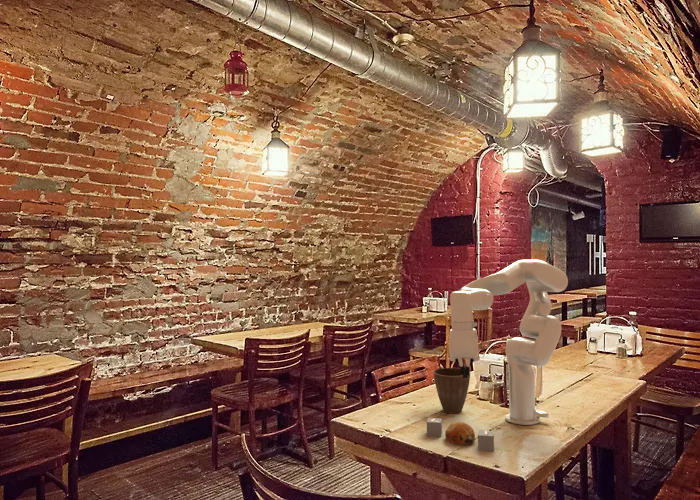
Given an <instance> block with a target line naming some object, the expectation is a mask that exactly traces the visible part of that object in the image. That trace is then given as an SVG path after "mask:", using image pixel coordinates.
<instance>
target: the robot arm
mask: <svg viewBox="0 0 700 500" xmlns="http://www.w3.org/2000/svg"><path fill="white" fill-rule="evenodd" d="M525 283H526V286H527V290H528V294H529V302H528V305H527V308H526V310H525V312H524V314H523V316H522V319H521V321H520V324H519V332H520V333H521V335H522V336H524V337H522V336H521V337H520V336H515V337H511V338H510V339H509V340H508V341H507V342H506V344H505V348H504V349H505V356H506V361H507V367H508V399H509V400H508V401H509V403H508V405H509V411H508V412H509V413H507V414H505V416H504V417H505V420H506V421H507V422H509V423H512V424H515V425H521V426H522V425H523V426H533V425H537V424H539V423H540V422H541V418H547V419H548V418H549V412H545V410H538V409H537V407H536V381H535V380H536V376H535V371H534V366H535V367H544V366H546V365H548V364H549V362H550V361H551V359H552V357H553V354H554V352H555V350H556V347H557V345H558V343H559V341H560V338H561V335H562V323H561V321H560V319H559V318H557V317H556V316H553V315H550V313H551V310H552V307H553V306H552V301H551V299H550V296H549V294H548V293H550V292H551V293H560V292H561V293H562V292H563V291H565V290H566V289H567V287H568V283H569V279H568V276H567V274H566V273H565V272H564V271H563V270H562V269H560V268H558V267H556V266H553V265H552V264H550V263H548V262H546V261H544V260H541V259H520V260H516V261H515V262H513V263H512V264H509V265H508V266H507V267H504V268H503V269H501V270H499V271H498V272H496V273H493V274H490V275H487V276H485V277H482V278H481V277H480V278H479V279H475V280H472V281H471V282H469V283H467V284H466V285H464V286H463V287H461V288H460V289H459V290H455V291H451V293H450V295H449V298H450V299H449V300H450V302H449V303H450V315H451V317H450V319H451V328H450V330H449V338H448V339H449V340H448V342H449V343H448V345H449V347H448V348H449V349H448V351H449V359H448V360H449V361H450V362H455V363H456V364H458V366H459V367H460V368H459V369H461V375H463V378H468V375H470V376H471V372H470V373H469V371H470V366H471V365H472V364H473V363H474V362H479V361H480V359H481V358H480V354H479V353H480V352H479V351H480V350H479V341H478V333H477V329H476V328H474V327H478V321H474V315H473V311H477V310H478V311H483V310H484V311H485V310H487V309H490V307H491V308H492V305H493V303H494V296H500V295H505V294H509V293H511V292H512V291H513V290H515V289H517V288H518V287H520V286H522V285H523V284H525ZM463 359H466V363H464V361H463Z"/></svg>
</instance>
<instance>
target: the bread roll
mask: <svg viewBox="0 0 700 500" xmlns="http://www.w3.org/2000/svg"><path fill="white" fill-rule="evenodd" d="M444 434H445V441H447V442H448V443H449V444H452V445H456V446H468V445H472V444H473V443H474V441H475V439H476V435H475V430H474V429H473V427H472V426H471V425H470V424H468V423H466V422H463V421H456V422H452V423H450V425H449V426H447V428H446V430H445V432H444Z"/></svg>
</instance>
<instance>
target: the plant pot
mask: <svg viewBox="0 0 700 500" xmlns="http://www.w3.org/2000/svg"><path fill="white" fill-rule="evenodd" d="M432 372H433V379H434V384H435V388H436V393H437V396H438V399H439V402H440V405H441V407H442V411H443V412H445V413H448V414H458V413H461V412H462V411H463V409H464V405H465V404H466V403H465V402H466V401H467V400H466V399H467V395H468V392H469V391H468V390H469V386H470V379H471V371H470V370H469V373H470V375H468V378H463V375H461V368H459V367H442V368H437V369H434V370H433V371H432Z"/></svg>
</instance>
